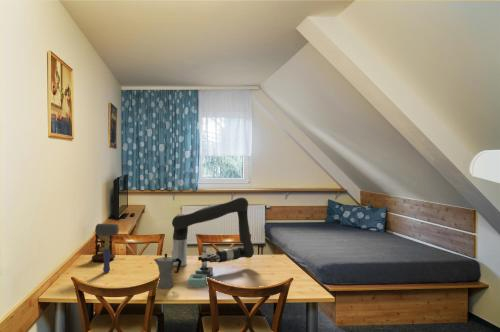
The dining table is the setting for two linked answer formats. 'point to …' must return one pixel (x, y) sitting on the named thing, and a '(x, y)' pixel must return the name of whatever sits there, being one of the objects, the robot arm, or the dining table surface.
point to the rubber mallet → (106, 240)
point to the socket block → (204, 271)
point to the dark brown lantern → (102, 248)
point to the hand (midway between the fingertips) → (200, 259)
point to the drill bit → (204, 255)
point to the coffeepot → (166, 271)
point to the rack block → (197, 280)
